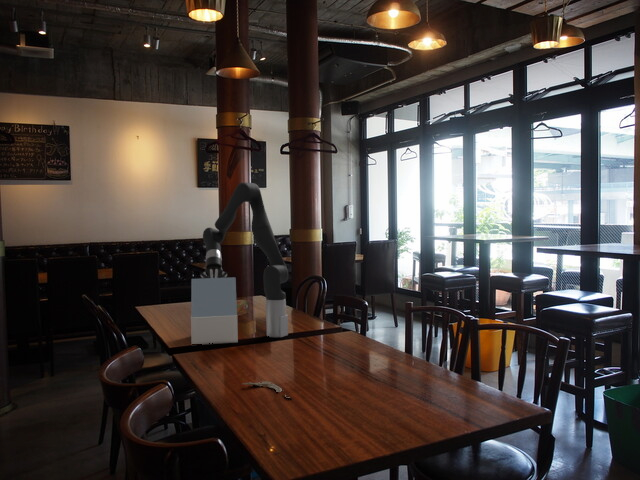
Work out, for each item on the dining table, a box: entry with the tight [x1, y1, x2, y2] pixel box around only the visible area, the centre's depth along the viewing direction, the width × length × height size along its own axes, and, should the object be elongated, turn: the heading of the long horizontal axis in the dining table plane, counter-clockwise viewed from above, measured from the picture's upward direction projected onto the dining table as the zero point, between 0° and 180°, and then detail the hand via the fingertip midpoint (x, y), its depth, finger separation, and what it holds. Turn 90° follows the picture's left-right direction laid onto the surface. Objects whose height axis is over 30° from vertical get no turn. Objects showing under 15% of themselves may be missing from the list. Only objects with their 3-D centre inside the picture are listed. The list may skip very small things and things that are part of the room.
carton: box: [190, 315, 239, 345], centre depth 230 cm, size 18×20×12 cm
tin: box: [236, 299, 250, 317], centre depth 286 cm, size 15×3×8 cm, turn 143°
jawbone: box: [241, 380, 291, 399], centre depth 162 cm, size 9×20×2 cm, turn 55°
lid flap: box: [190, 276, 237, 318], centre depth 224 cm, size 18×20×1 cm
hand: (214, 289), depth 232 cm, fingers closed
